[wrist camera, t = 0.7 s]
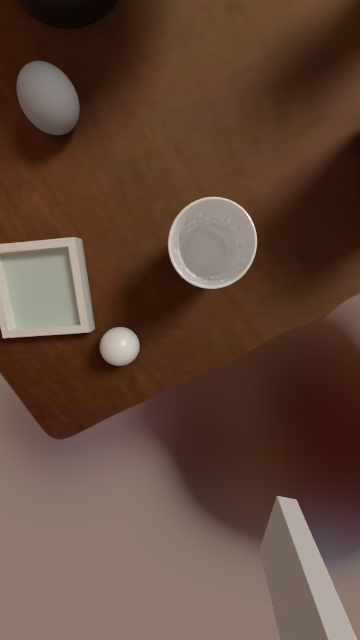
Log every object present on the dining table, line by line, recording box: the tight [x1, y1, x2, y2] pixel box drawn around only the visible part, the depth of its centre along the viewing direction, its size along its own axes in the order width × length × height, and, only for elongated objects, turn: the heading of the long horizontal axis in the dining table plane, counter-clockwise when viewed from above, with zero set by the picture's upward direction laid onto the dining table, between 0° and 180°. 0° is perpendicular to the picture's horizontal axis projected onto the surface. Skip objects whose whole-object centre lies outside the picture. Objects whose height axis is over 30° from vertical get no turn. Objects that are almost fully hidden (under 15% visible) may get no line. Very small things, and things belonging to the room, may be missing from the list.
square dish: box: [0, 237, 95, 338], centre depth 33 cm, size 12×12×2 cm
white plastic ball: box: [100, 327, 139, 366], centre depth 33 cm, size 5×5×5 cm
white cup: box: [168, 197, 257, 289], centre depth 27 cm, size 8×8×10 cm
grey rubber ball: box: [16, 61, 80, 135], centre depth 27 cm, size 6×6×6 cm
